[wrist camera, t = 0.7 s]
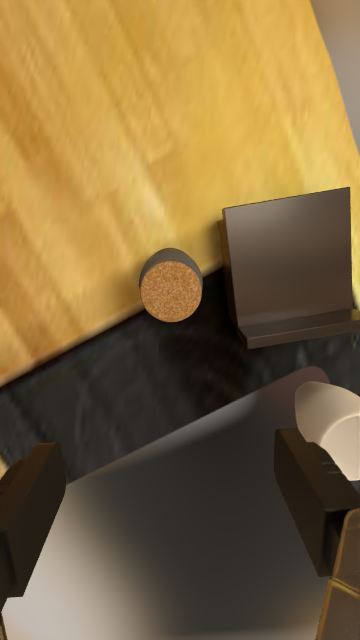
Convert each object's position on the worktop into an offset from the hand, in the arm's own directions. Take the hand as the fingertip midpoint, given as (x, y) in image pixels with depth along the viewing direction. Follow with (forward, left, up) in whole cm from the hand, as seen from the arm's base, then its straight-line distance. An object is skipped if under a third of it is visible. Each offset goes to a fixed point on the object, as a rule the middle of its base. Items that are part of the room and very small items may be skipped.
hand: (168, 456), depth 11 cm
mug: (+16, +19, -29) cm, 38 cm away
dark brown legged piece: (-3, +14, -28) cm, 32 cm away
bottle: (-4, +1, -29) cm, 29 cm away
